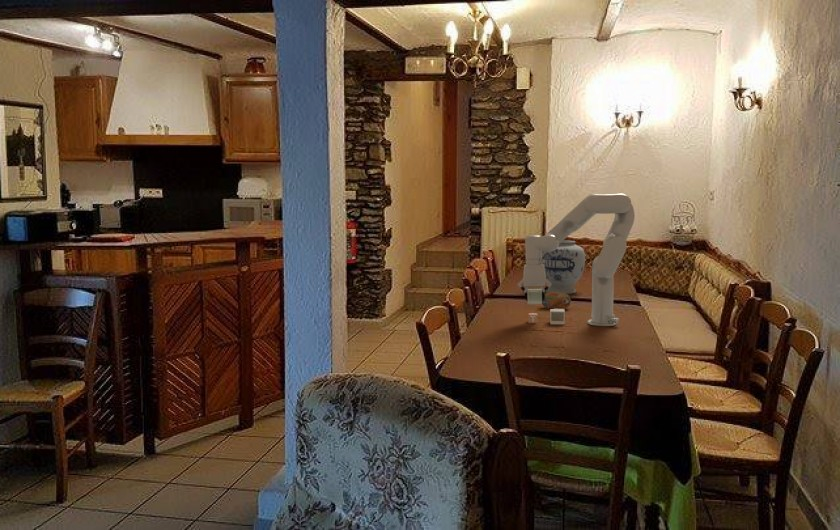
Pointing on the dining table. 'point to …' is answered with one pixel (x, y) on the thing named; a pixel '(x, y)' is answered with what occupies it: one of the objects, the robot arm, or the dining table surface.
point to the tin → (556, 300)
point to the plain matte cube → (534, 296)
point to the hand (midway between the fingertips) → (534, 300)
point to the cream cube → (557, 316)
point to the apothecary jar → (564, 267)
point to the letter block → (532, 318)
